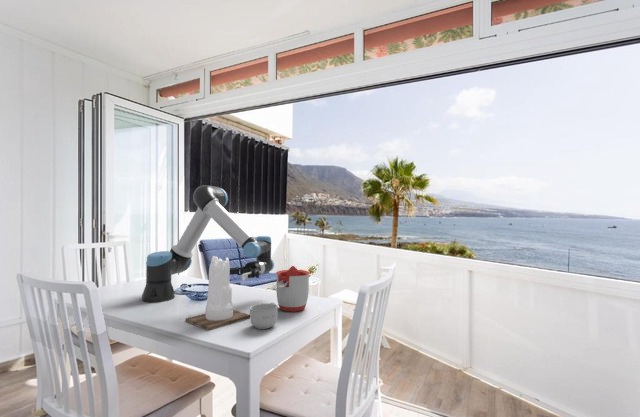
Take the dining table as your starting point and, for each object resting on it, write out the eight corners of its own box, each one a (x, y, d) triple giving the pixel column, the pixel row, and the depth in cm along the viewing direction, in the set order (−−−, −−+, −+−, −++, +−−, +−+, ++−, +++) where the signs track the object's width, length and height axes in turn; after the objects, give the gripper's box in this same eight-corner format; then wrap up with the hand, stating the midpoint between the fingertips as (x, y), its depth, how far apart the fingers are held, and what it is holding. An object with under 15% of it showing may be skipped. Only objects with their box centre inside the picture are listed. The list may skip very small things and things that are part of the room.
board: (185, 321, 134) (185, 318, 134) (227, 310, 150) (227, 308, 150) (208, 330, 124) (208, 327, 124) (250, 317, 140) (250, 315, 140)
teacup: (264, 333, 122) (265, 311, 122) (243, 327, 128) (243, 306, 128) (287, 323, 134) (287, 303, 134) (267, 318, 140) (267, 299, 140)
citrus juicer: (266, 311, 150) (266, 266, 151) (288, 302, 165) (289, 262, 166) (294, 316, 142) (295, 270, 143) (315, 307, 157) (315, 265, 158)
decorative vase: (237, 316, 137) (238, 256, 138) (213, 322, 130) (214, 258, 130) (224, 311, 145) (225, 254, 145) (200, 316, 137) (202, 255, 138)
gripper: (276, 278, 160) (254, 287, 140) (232, 274, 168) (205, 282, 148) (277, 262, 160) (254, 269, 140) (232, 259, 168) (205, 265, 148)
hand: (229, 276), depth 144 cm, fingers open, 13 cm apart
